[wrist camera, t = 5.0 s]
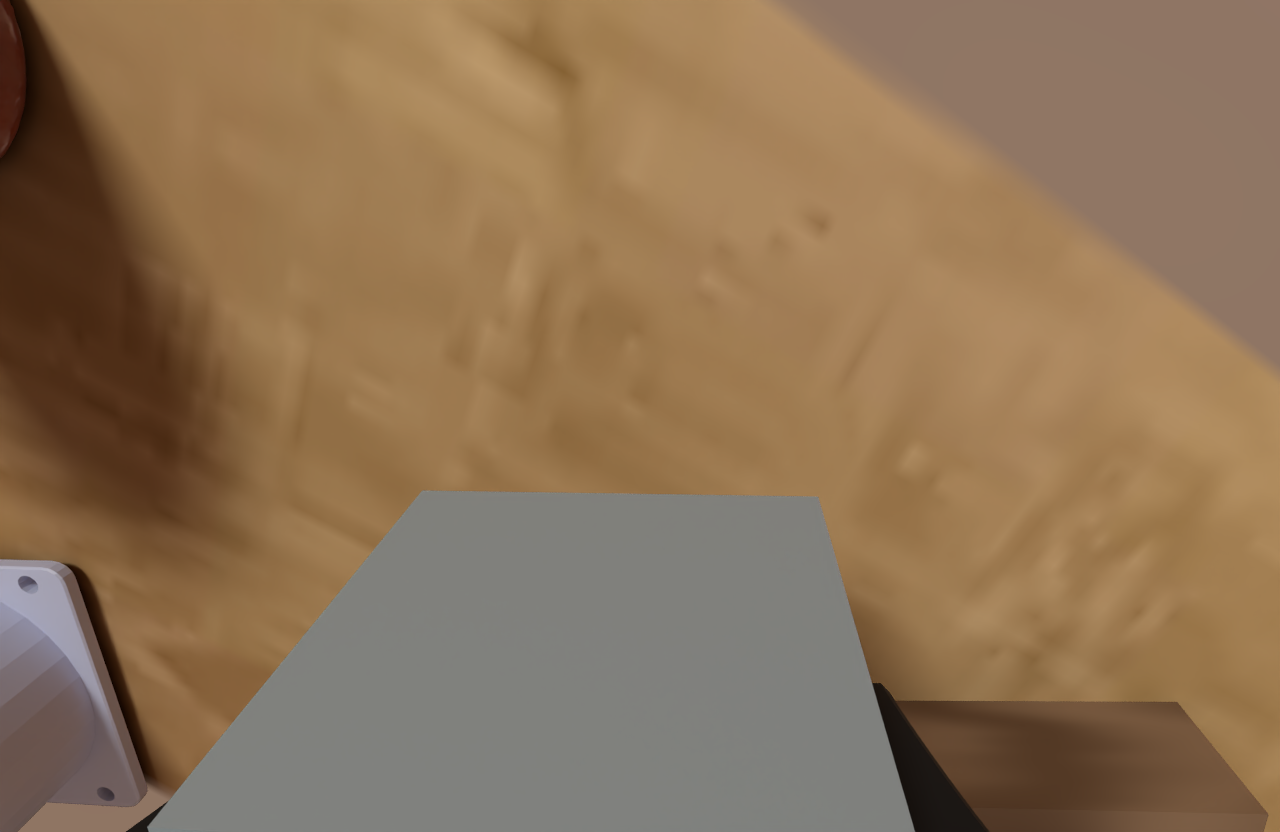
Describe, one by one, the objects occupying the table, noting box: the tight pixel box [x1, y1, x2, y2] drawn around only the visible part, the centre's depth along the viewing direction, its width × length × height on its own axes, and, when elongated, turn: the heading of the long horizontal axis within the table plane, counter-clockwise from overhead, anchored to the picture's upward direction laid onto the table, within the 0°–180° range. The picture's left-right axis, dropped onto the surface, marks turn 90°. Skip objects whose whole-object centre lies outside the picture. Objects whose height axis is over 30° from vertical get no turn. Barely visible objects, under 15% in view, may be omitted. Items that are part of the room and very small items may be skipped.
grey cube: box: [147, 491, 915, 832], centre depth 8 cm, size 5×5×5 cm
